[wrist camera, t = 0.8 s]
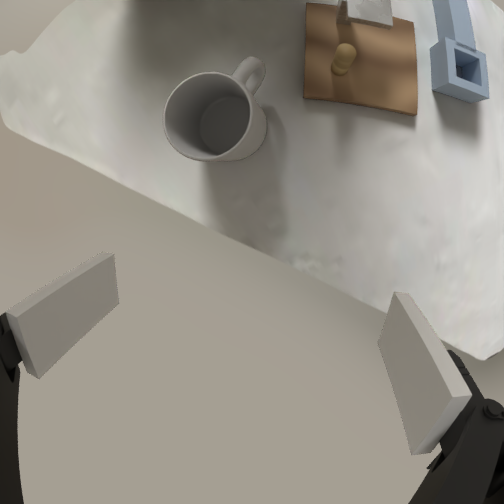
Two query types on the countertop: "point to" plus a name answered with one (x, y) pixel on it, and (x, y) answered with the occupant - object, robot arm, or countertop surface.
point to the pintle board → (360, 62)
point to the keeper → (365, 13)
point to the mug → (217, 114)
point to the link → (457, 54)
